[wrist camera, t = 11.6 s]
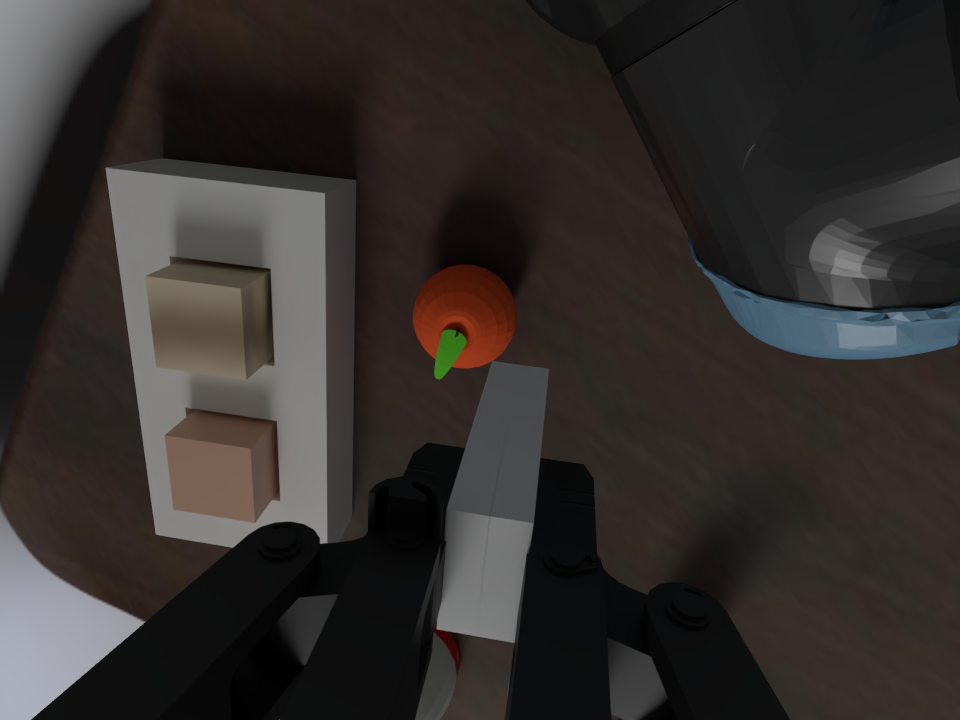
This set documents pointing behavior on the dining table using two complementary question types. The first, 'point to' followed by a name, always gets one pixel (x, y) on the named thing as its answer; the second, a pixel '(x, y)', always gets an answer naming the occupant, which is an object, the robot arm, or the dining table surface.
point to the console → (296, 327)
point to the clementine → (464, 317)
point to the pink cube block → (223, 465)
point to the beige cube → (211, 317)
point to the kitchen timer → (439, 677)
